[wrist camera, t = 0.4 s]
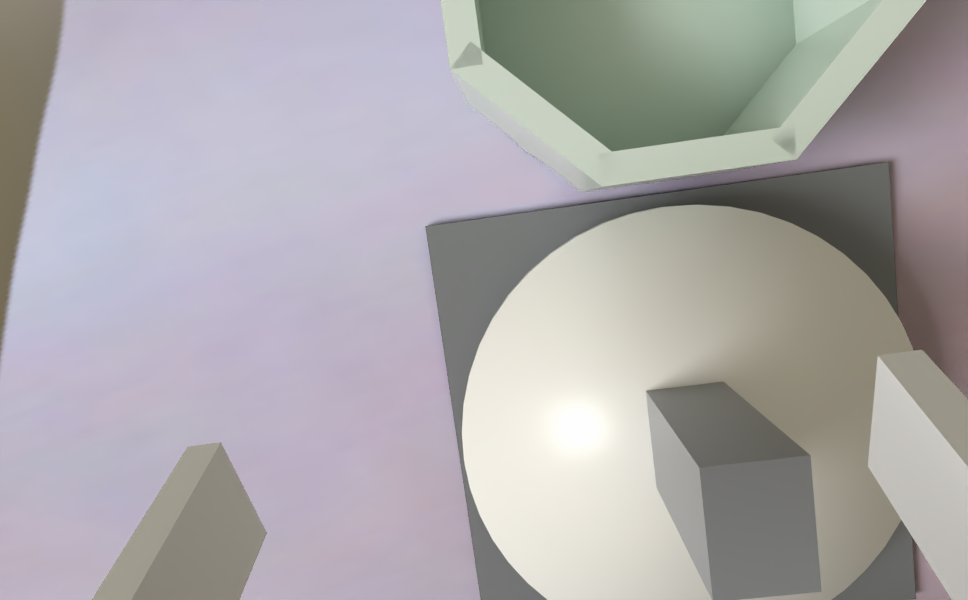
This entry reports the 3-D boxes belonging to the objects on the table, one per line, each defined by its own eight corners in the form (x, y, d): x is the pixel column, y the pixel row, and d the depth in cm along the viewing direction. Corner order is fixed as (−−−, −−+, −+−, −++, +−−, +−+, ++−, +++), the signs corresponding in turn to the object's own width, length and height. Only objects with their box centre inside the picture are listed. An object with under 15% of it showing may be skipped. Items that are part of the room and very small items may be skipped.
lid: (903, 589, 30) (1109, 793, 19) (496, 629, 31) (484, 840, 21) (876, 176, 28) (1093, 156, 17) (438, 236, 29) (393, 252, 18)
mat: (910, 594, 30) (915, 599, 30) (487, 635, 32) (487, 640, 31) (883, 162, 28) (888, 162, 27) (426, 226, 29) (425, 226, 29)
